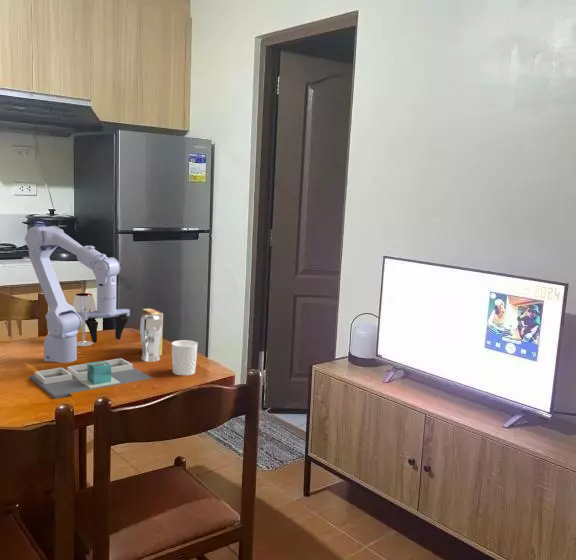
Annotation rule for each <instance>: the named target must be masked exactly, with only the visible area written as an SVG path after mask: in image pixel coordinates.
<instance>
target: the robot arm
mask: <svg viewBox="0 0 576 560" xmlns="http://www.w3.org/2000/svg"><path fill="white" fill-rule="evenodd" d="M24 240H25V243H26V246H27V249H28V254H29V255H28V257H29V260H30V262H31V265H32V268H33V270H34V272H35V275H36V278H37V280H38V283H39V285H40V287H41V290H42V293H43V296H44V298H45V301H46V303H47V306H48V309H49V310H48V311H47V313H46V314H45V319H46V328H47V331H48V334H47V335H46V336H45V337H44V342H43V353H44V354H43V357H44V359H43V362H54V363H61V364H62V363H63V364H64V363H65V364H67V363H72V362H75V361H77V360H78V357H77V356H78V353H77V351H78V348H77V347H78V346H77V342H78V337H77V336H78V335H77V334H79V330H80V329H81V327H82V326H83V324H82V320H81V317H80V315H79V314H78V313H77V312H76V310H75V308H74V307H73V306H72V305H71V304H70V303H68V302H67V300H66V296H65V295H64V292H63V289H62V287H61V284H60V282H59V279H58V276H57V274H56V271H55V269H54V266H53V264H52V261H51V259H50V258H51V257H50V256H51V254H53V252H54V251H55V250H56V249H57V248H58V247H61V249H64V250H66V251H67V252H70V253H71V254H73V255H74V256H76V260H77V261H78V262H79V263H81V264H82V265H84V266H85V267H87V268H88V269H90V270H92V272H93V275H94V277H95V282H96V311H92V312H86V313H82V319H83V320H84V321H85V323H86V324H85V326H86V327H87V329H88V331H89V334H90V338H91V342H93V344H95V343H97V341H98V334H97V333H98V325H99V322H98V321H97V319H107V318H114V325H115V331H114V332H115V334H114V335H115V339H116V340H119V341H120V340H121V338H122V334H123V332H124V328H125V326H126V324H127V323H128V321H129V317H130V315H131V314H130V313H131V310H130V309H129V308H118V309H117V278H118V277H117V276H118V275H119V274H120V272H121V263H120V261H118V259H116V258H115V257H111V256H110V257H108V256H107V254H105V253H101V252H99V251H98V250H96V249H95V248H96V247H95V246H93V245H84V246H83V245H81V244H80V243H79V242H78V241H76V240H75V239H74V238H72V237H71V236H69V235H68V234H66V233H65V231H64V229H62V228H60V227H58V226H56V225H50V226H31V227H29V229H28V230H27V232H26V234H25V237H24Z"/></svg>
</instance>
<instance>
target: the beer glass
mask: <svg viewBox="0 0 576 560" xmlns="http://www.w3.org/2000/svg"><path fill="white" fill-rule="evenodd" d="M139 325H140V327H139V331H140V332H139V334H140V341H141V351H142V350H143V351H142V355H141V361H142V362H148V363H149V362H150V363H154V362H158V361H160V360H161V357H160V355H159V346H160V341H161V335H162V320H161V316H158V315H144V316H143V315H142V316H140V324H139Z"/></svg>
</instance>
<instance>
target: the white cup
mask: <svg viewBox="0 0 576 560" xmlns="http://www.w3.org/2000/svg"><path fill="white" fill-rule="evenodd" d="M197 355H198V342H197V341H194V340H189V339H188V340H187V339H183V340H181V339H180V340H174V341H172V342H171V360H172V361H171V362H172V363H171V364H172V365H171V366H172V373H173V375H177V376H191V375H194V374H195V373H196V367H197V358H198V356H197Z"/></svg>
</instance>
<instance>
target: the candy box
mask: <svg viewBox="0 0 576 560" xmlns="http://www.w3.org/2000/svg"><path fill="white" fill-rule="evenodd" d="M144 315H158V316H161V320H162V335H161V341H160V346H159V356H162V355H163V332H164V331H163V330H164V313H163V312H161V311H159V310H156V309H155V308H142V316H144ZM141 351H142V352H143V350H142V349H141Z"/></svg>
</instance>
